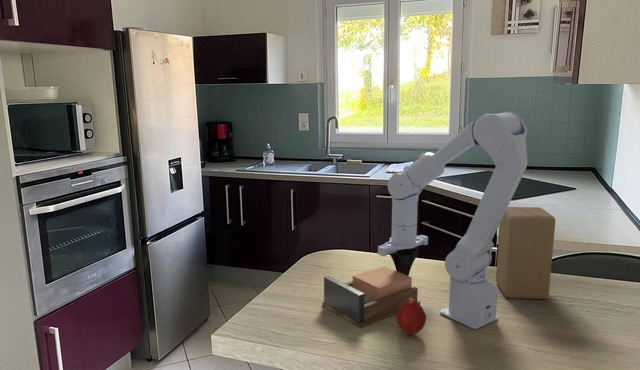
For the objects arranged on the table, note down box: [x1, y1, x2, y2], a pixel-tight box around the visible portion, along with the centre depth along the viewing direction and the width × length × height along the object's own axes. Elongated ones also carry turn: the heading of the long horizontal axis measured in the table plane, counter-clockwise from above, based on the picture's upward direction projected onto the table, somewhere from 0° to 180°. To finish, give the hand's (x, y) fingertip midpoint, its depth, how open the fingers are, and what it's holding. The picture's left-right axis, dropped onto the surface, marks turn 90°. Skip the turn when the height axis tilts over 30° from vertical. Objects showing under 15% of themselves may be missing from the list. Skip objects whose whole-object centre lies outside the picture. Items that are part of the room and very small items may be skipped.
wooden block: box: [495, 206, 557, 300], centre depth 117 cm, size 10×10×20 cm
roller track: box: [321, 275, 421, 328], centre depth 112 cm, size 13×18×7 cm
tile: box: [352, 265, 413, 300], centre depth 113 cm, size 9×10×3 cm
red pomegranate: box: [395, 298, 427, 336], centre depth 98 cm, size 6×6×8 cm
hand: (402, 278), depth 117 cm, fingers closed
